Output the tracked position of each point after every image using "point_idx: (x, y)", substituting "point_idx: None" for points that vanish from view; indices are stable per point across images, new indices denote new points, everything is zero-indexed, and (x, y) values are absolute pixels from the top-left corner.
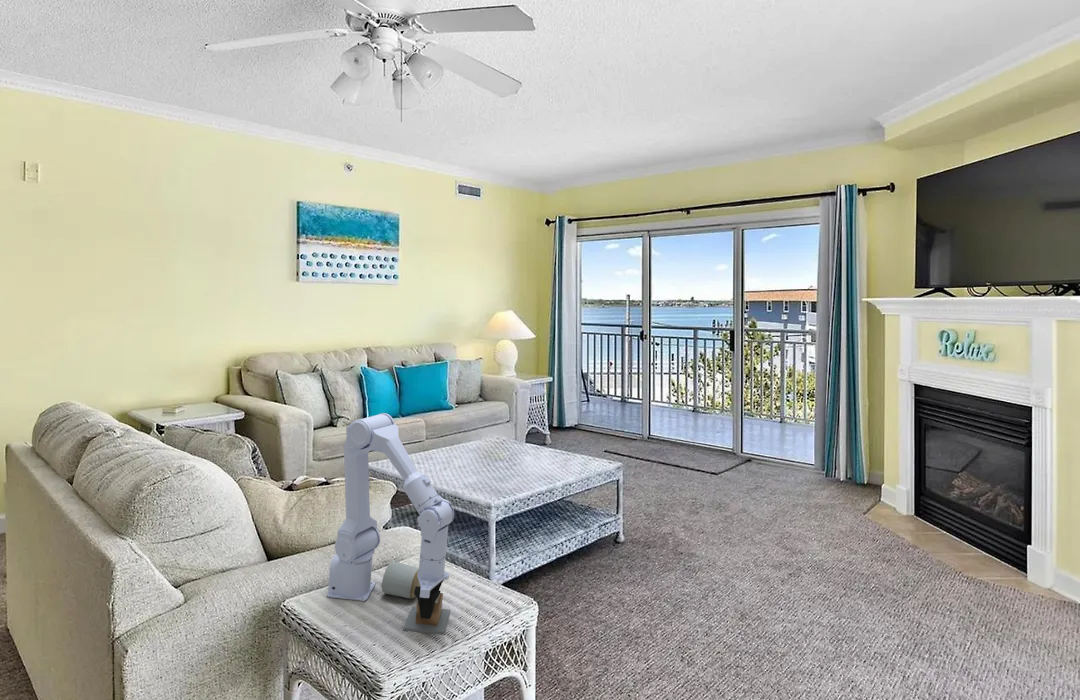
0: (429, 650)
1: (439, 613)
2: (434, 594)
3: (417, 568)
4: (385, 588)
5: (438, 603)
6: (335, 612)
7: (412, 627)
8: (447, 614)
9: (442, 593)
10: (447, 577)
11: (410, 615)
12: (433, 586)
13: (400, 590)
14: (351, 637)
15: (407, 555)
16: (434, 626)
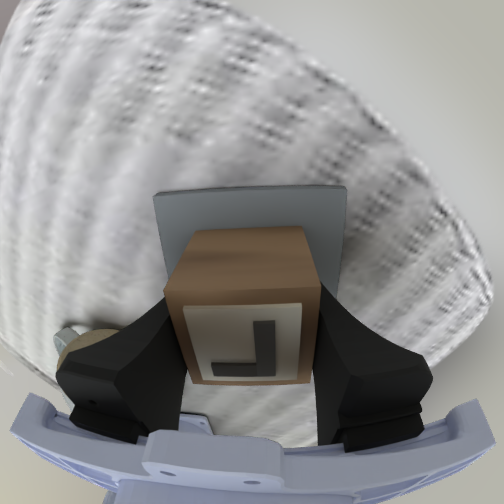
0: (438, 224)
1: (268, 245)
2: (419, 391)
3: (71, 403)
4: None
5: (302, 295)
6: (267, 437)
7: None
8: (195, 199)
9: (166, 293)
10: (273, 470)
11: None
12: (443, 455)
13: None
14: None
15: (9, 349)
16: (310, 237)
